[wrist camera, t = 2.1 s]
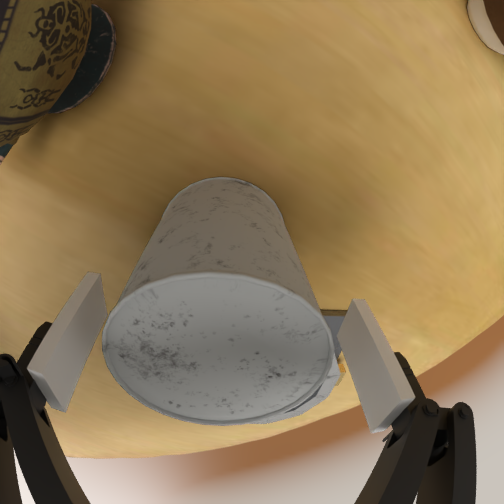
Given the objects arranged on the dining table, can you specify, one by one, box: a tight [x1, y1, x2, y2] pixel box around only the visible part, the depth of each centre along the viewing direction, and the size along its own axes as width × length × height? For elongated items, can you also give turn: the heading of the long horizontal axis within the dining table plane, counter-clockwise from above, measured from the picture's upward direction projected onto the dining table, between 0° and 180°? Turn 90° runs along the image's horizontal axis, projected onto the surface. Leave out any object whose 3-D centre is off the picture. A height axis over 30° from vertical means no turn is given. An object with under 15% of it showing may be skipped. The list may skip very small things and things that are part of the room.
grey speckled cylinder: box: [102, 177, 334, 426], centre depth 16 cm, size 10×10×12 cm
